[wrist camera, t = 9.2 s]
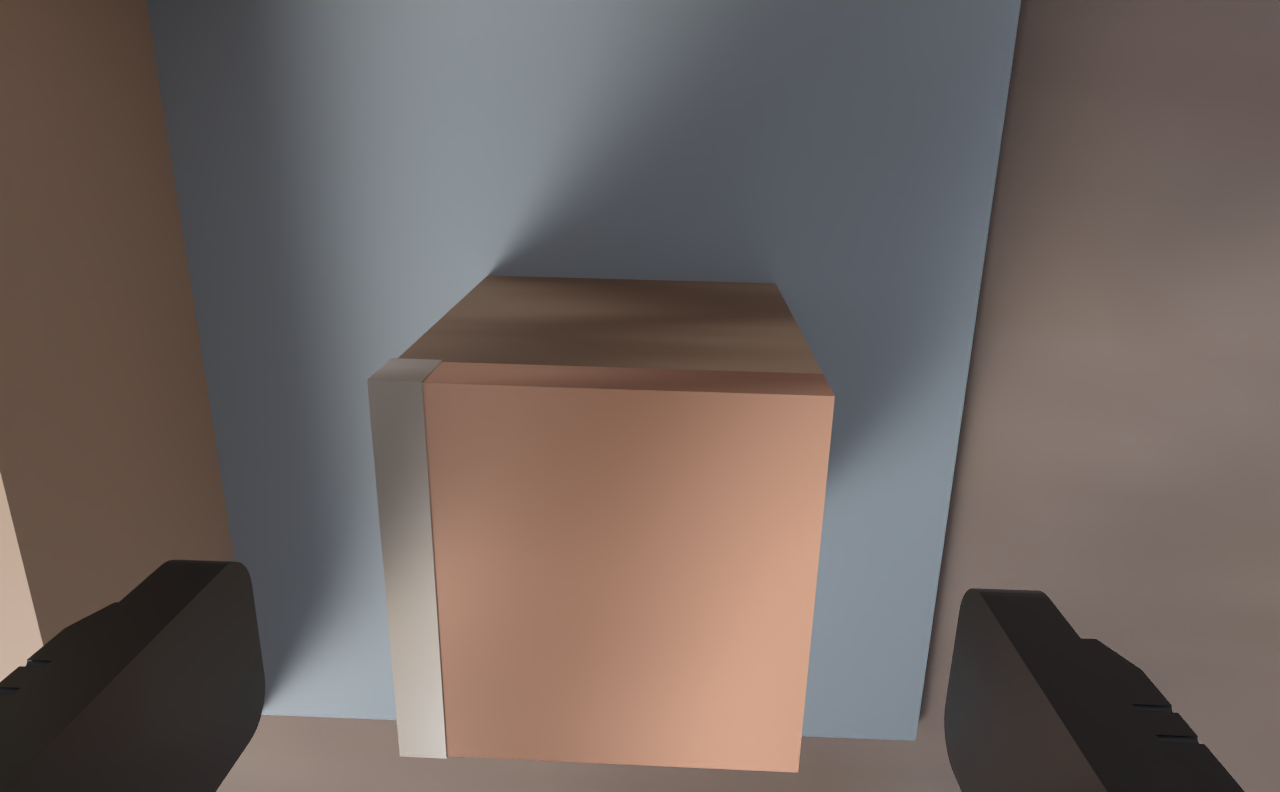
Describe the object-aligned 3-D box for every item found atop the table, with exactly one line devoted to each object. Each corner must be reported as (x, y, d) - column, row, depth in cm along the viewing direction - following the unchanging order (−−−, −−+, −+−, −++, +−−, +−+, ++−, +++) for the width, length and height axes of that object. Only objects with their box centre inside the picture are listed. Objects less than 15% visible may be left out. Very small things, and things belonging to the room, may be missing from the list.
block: (775, 282, 15) (835, 394, 9) (757, 542, 17) (797, 774, 11) (484, 274, 15) (367, 380, 9) (494, 533, 17) (400, 755, 11)
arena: (910, 727, 18) (1000, 971, 13) (212, 700, 19) (38, 924, 14) (1031, -144, 13) (1259, -300, 8) (62, -148, 14) (-309, -297, 8)
